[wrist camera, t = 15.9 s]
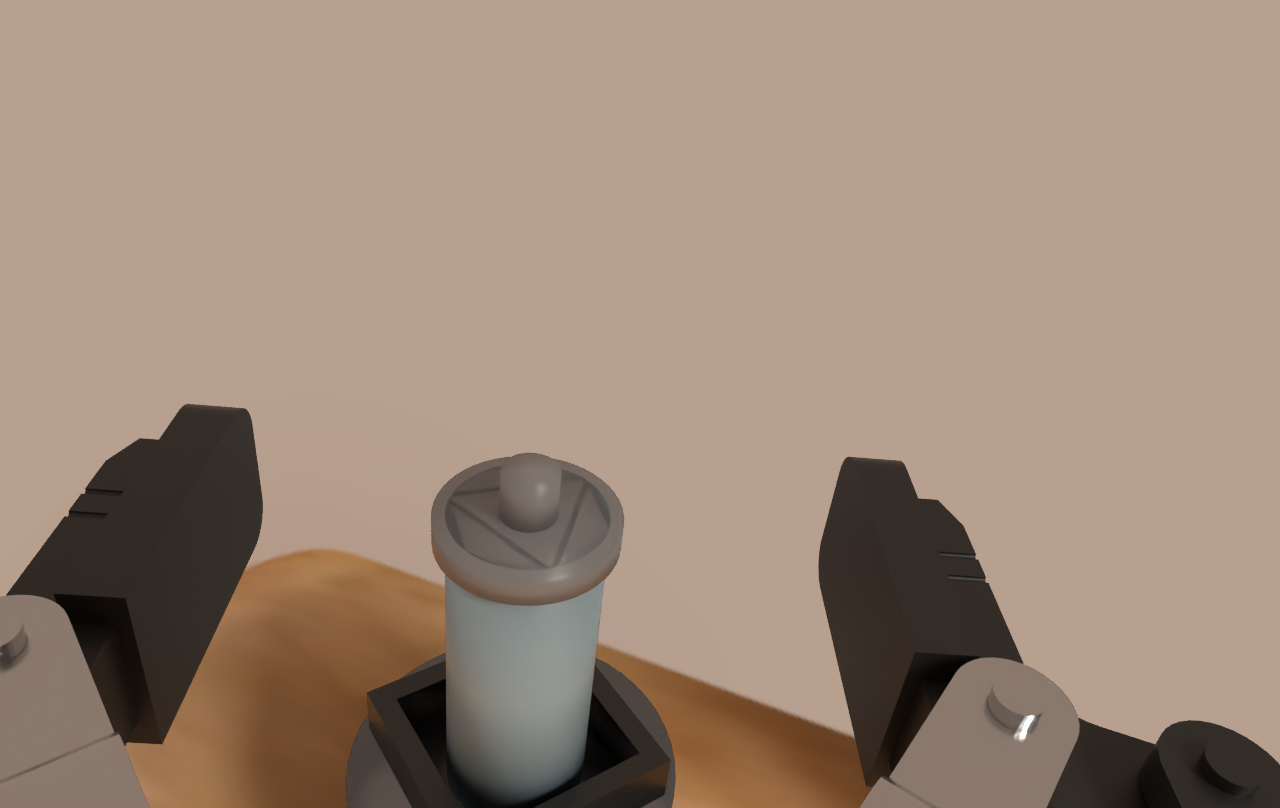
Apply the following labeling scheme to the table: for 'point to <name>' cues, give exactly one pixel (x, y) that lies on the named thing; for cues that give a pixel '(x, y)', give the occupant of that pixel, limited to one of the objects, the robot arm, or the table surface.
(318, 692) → the table surface
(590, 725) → the dark grey holder
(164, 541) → the robot arm
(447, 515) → the grey lidded canister
